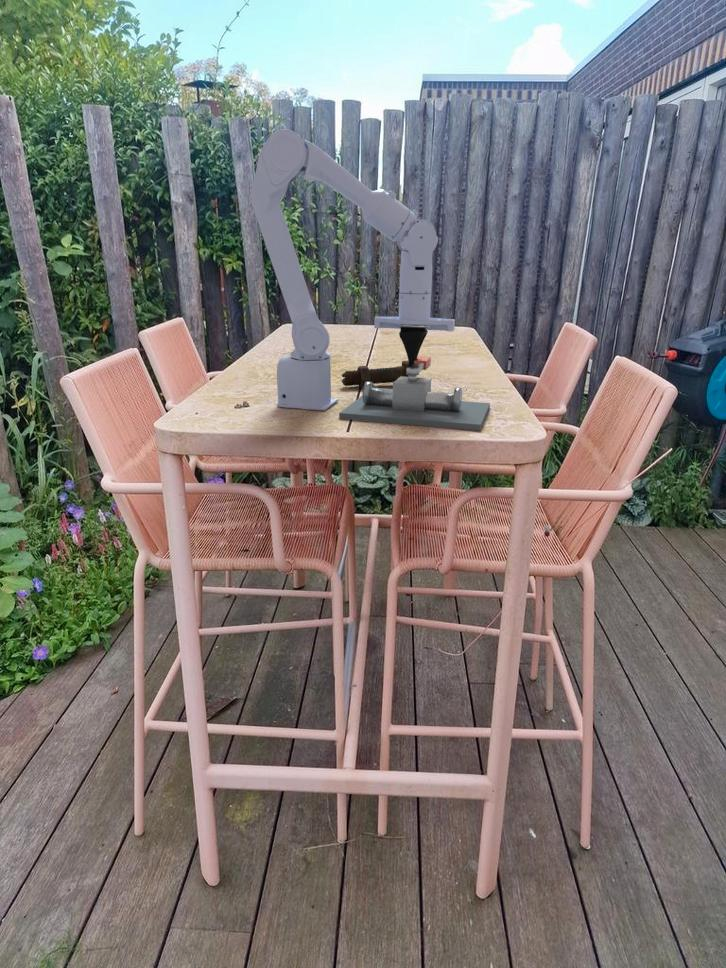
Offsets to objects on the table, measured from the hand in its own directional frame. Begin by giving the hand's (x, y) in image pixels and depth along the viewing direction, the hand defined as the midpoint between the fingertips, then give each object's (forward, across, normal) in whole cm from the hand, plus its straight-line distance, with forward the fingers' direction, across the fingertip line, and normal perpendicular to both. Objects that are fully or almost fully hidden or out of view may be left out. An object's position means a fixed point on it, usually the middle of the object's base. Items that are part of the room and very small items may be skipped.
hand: (412, 369), depth 111 cm
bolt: (+7, -10, +12) cm, 17 cm away
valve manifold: (+6, +2, -8) cm, 10 cm away
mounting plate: (+6, +3, -8) cm, 11 cm away
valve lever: (0, +2, -3) cm, 4 cm away
